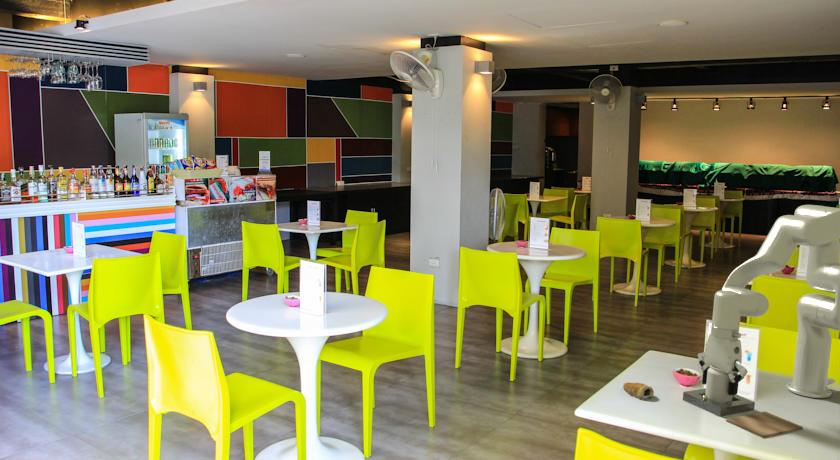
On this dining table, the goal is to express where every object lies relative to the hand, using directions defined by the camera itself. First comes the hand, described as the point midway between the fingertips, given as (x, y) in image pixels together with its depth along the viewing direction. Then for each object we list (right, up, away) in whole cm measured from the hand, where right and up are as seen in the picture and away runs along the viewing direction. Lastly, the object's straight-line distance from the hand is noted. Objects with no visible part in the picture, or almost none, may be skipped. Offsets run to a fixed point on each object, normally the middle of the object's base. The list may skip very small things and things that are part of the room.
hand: (719, 388), depth 214 cm
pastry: (-22, -4, +8) cm, 23 cm away
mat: (+7, -7, -14) cm, 17 cm away
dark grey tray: (0, -5, +1) cm, 5 cm away
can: (0, -5, +1) cm, 5 cm away
